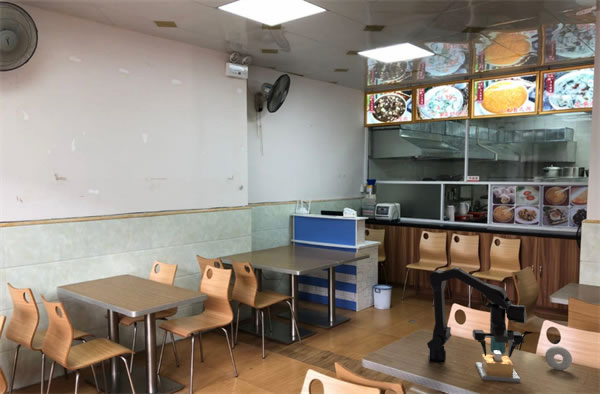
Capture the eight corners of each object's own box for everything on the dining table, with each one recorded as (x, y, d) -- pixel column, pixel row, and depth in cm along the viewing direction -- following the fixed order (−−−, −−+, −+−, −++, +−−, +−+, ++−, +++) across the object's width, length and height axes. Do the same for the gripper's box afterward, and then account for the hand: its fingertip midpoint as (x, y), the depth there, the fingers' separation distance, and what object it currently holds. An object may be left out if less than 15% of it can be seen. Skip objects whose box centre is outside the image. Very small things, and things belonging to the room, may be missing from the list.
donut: (571, 370, 192) (571, 346, 192) (572, 373, 189) (573, 349, 188) (544, 366, 196) (544, 343, 196) (545, 369, 193) (545, 345, 192)
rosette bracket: (482, 379, 183) (482, 364, 183) (475, 364, 198) (475, 350, 198) (520, 382, 180) (520, 367, 180) (510, 367, 195) (510, 353, 195)
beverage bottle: (507, 358, 205) (507, 313, 205) (491, 356, 207) (492, 312, 206) (503, 352, 212) (504, 309, 211) (488, 351, 213) (489, 308, 212)
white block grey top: (495, 375, 187) (495, 353, 186) (493, 371, 191) (493, 350, 190) (501, 376, 186) (501, 354, 186) (499, 372, 190) (499, 350, 190)
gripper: (477, 323, 182) (476, 362, 182) (528, 326, 178) (527, 366, 179) (472, 315, 193) (472, 352, 193) (520, 318, 189) (519, 355, 190)
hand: (497, 356), depth 188 cm, fingers open, 9 cm apart
